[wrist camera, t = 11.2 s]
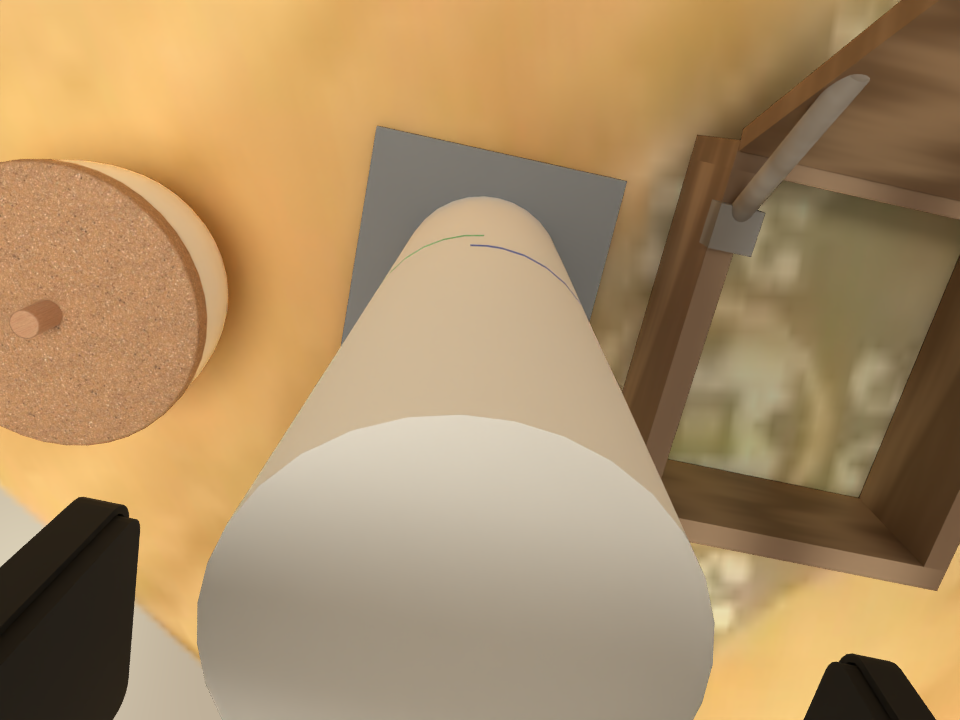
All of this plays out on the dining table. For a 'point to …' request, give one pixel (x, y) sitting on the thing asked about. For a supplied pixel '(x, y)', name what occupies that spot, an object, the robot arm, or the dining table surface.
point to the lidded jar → (100, 300)
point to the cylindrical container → (460, 515)
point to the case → (734, 229)
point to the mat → (472, 173)
